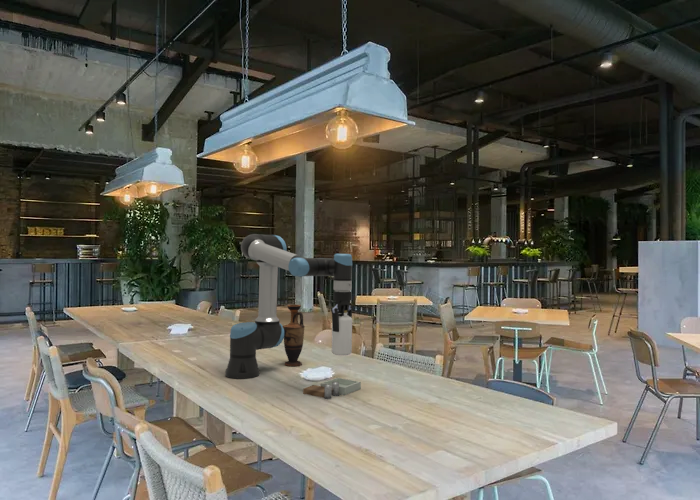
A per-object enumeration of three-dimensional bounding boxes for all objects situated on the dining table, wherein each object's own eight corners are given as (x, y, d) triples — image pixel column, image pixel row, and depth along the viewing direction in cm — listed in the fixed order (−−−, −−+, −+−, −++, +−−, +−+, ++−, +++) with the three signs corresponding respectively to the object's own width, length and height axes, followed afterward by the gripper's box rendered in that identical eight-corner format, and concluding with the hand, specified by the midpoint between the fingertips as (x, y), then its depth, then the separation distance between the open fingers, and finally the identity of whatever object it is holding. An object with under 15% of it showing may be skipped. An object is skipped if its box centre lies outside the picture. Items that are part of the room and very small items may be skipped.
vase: (278, 365, 249) (279, 305, 249) (288, 361, 259) (289, 303, 260) (297, 367, 245) (298, 306, 245) (307, 363, 255) (308, 304, 255)
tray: (320, 390, 205) (320, 383, 205) (337, 384, 214) (337, 377, 215) (344, 395, 198) (344, 387, 198) (360, 388, 208) (360, 381, 208)
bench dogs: (322, 398, 193) (323, 385, 193) (334, 393, 200) (334, 381, 200) (328, 399, 192) (328, 386, 192) (340, 395, 198) (340, 382, 198)
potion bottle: (349, 356, 201) (350, 311, 202) (329, 355, 203) (330, 310, 203) (353, 352, 210) (354, 309, 210) (334, 351, 211) (334, 308, 212)
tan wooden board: (303, 394, 199) (303, 388, 199) (313, 390, 205) (313, 384, 205) (324, 398, 194) (324, 392, 194) (333, 394, 200) (333, 388, 200)
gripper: (339, 292, 198) (338, 351, 198) (360, 290, 211) (359, 346, 211) (324, 291, 202) (323, 349, 202) (345, 289, 215) (344, 344, 215)
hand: (341, 347), depth 206 cm, fingers open, 2 cm apart
